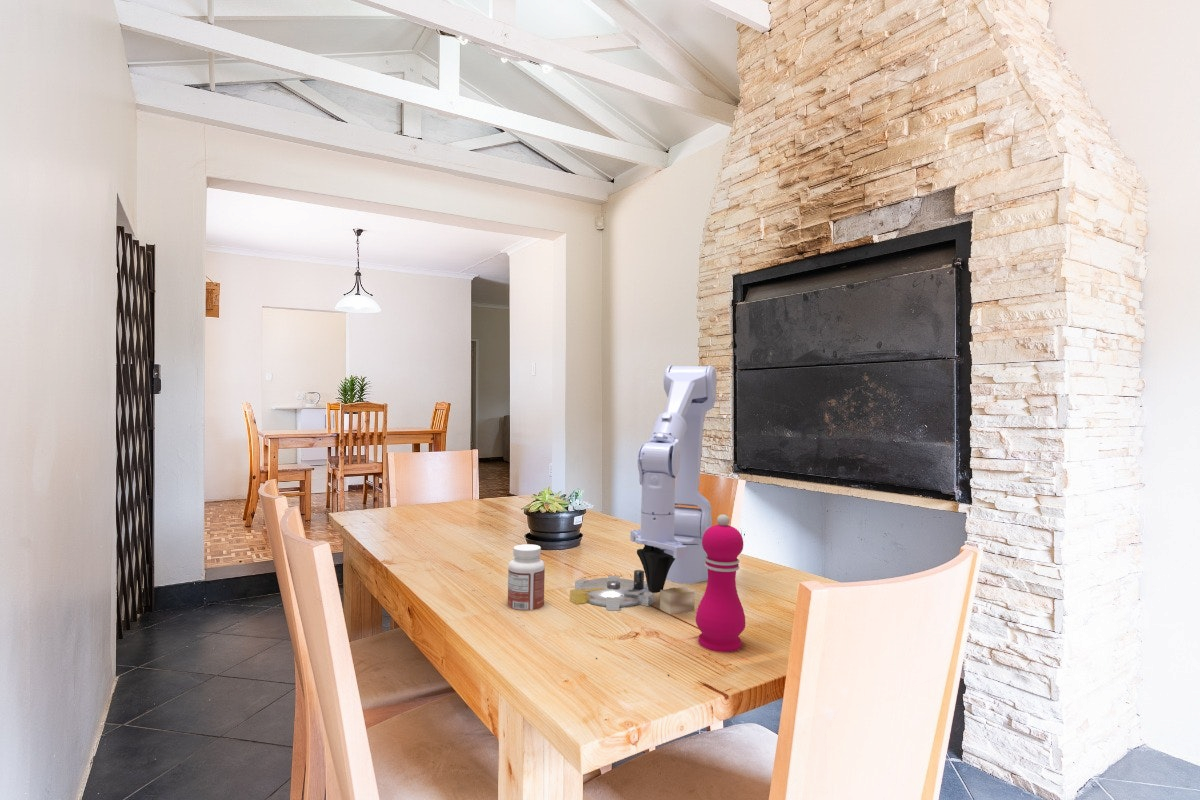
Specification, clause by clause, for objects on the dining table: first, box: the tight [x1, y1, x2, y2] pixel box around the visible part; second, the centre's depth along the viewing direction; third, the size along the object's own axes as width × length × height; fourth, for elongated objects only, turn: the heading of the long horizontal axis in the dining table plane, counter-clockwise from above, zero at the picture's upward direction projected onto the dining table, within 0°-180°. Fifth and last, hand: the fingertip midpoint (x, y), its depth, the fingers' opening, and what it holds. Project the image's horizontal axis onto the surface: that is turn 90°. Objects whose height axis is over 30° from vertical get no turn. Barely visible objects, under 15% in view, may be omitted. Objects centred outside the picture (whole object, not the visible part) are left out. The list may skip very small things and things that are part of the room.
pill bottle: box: [507, 543, 546, 611], centre depth 108 cm, size 6×6×11 cm
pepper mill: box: [695, 513, 746, 653], centre depth 93 cm, size 7×7×20 cm
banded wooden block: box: [659, 586, 696, 615], centre depth 107 cm, size 5×3×4 cm, turn 118°
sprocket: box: [569, 569, 655, 611], centre depth 113 cm, size 16×14×5 cm
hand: (655, 591), depth 108 cm, fingers closed
